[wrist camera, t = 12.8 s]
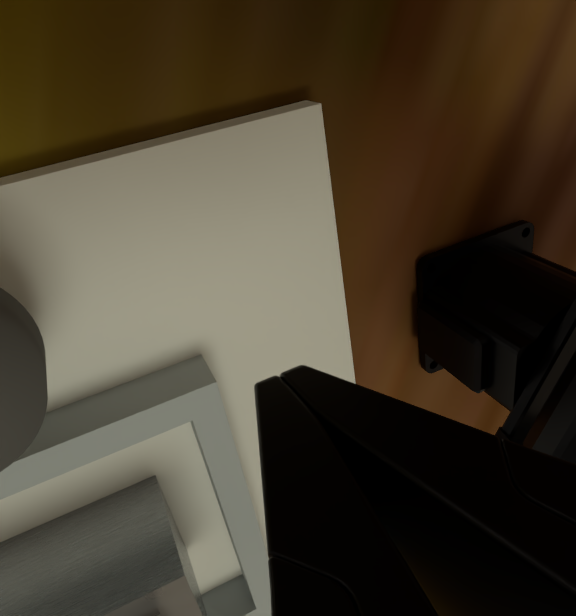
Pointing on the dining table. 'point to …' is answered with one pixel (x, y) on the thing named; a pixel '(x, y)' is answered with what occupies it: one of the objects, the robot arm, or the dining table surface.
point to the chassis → (175, 325)
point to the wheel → (20, 379)
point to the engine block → (102, 561)
